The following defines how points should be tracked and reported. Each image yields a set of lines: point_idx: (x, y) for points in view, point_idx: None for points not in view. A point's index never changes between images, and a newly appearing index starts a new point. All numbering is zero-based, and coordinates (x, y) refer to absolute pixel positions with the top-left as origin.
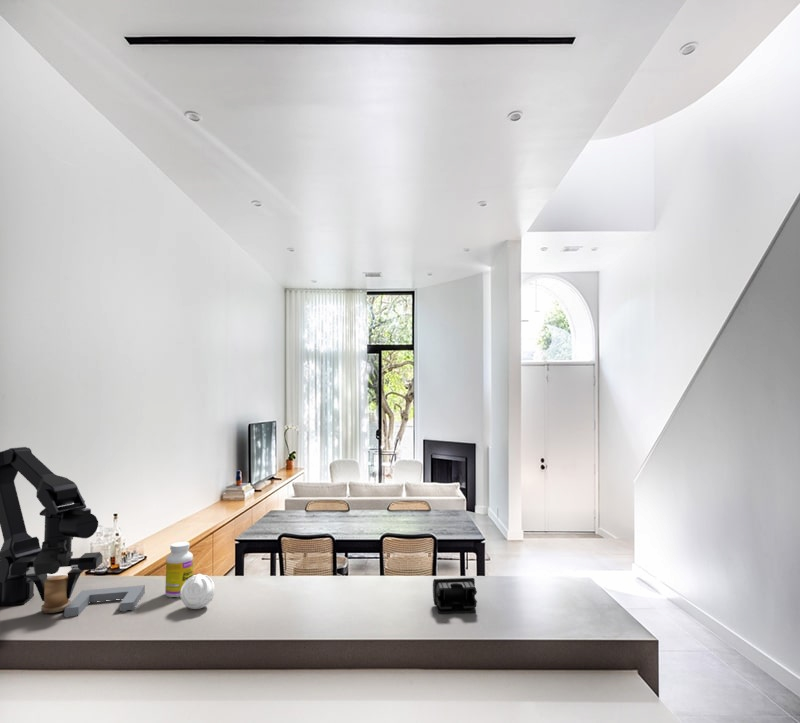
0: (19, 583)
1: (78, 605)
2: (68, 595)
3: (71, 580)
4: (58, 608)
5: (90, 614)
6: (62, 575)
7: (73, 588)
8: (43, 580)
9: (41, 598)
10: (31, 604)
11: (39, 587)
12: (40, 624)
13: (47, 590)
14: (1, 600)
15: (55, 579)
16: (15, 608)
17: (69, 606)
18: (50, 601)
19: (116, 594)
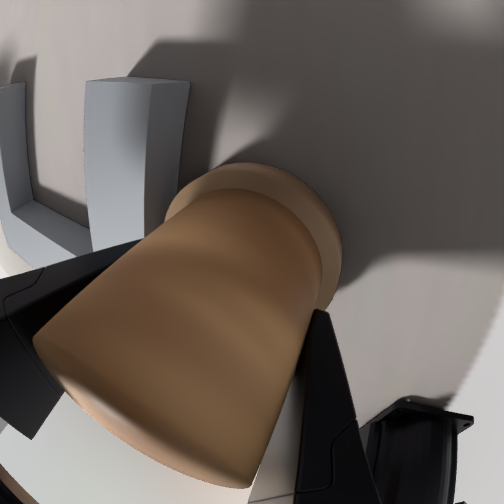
0: (399, 491)
1: (90, 111)
2: (129, 247)
3: (5, 293)
4: (217, 171)
5: (86, 80)
6: (131, 445)
7: None
8: (272, 487)
9: (332, 327)
10: (371, 388)
11: (332, 424)
12: (330, 11)
13: (243, 327)
14: (451, 437)
15: (131, 427)
16: (433, 382)
17: (129, 111)
18: (253, 221)
19: (35, 222)
